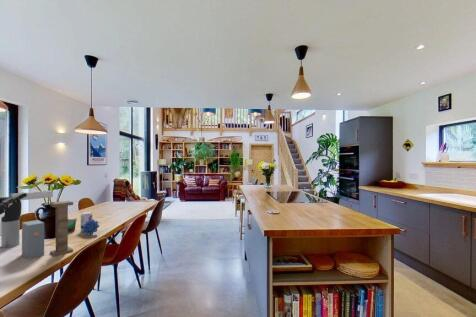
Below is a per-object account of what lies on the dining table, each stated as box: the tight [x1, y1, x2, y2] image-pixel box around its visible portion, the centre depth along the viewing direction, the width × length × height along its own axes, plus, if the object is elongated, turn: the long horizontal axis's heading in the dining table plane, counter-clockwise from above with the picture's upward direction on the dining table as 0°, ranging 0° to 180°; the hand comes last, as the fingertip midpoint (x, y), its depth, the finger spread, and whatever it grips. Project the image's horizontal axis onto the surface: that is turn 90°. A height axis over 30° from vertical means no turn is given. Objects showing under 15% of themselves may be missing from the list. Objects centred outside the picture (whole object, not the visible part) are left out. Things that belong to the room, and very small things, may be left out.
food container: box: [68, 218, 78, 233], centre depth 202 cm, size 12×6×10 cm, turn 105°
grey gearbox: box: [21, 219, 45, 260], centre depth 153 cm, size 13×8×20 cm, turn 54°
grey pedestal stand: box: [49, 200, 74, 257], centre depth 157 cm, size 8×10×32 cm
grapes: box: [81, 219, 100, 236], centre depth 194 cm, size 12×7×12 cm, turn 110°
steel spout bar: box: [9, 190, 54, 201], centre depth 153 cm, size 4×20×4 cm, turn 144°
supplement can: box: [80, 211, 93, 233], centre depth 203 cm, size 8×8×15 cm
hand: (24, 193), depth 150 cm, fingers closed on steel spout bar, 4 cm apart
